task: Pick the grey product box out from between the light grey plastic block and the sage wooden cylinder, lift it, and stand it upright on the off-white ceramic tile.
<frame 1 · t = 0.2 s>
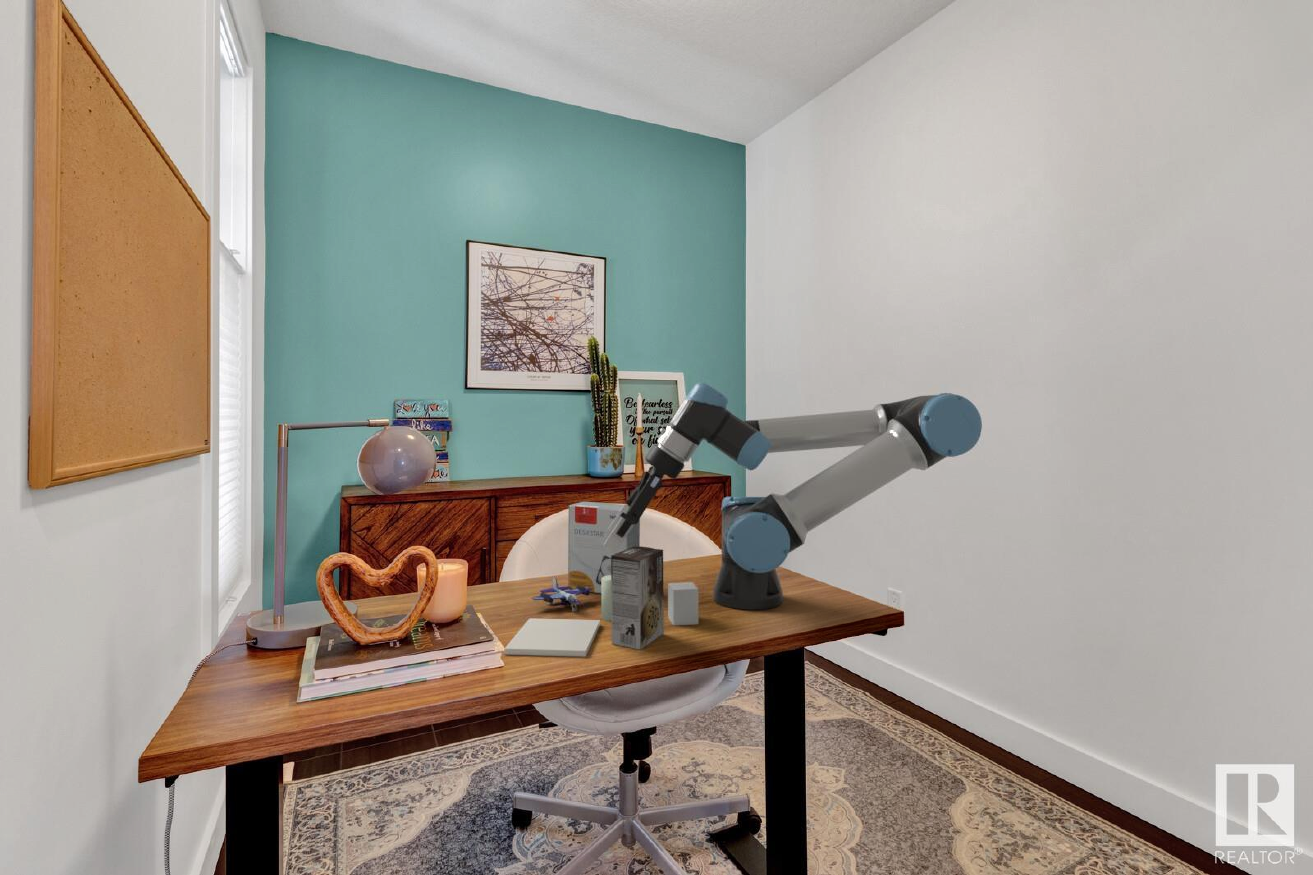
hand: (611, 540, 127), 16 cm above the table, tool tilted 35°, fingers open, 13 cm apart
sage cylinder: (613, 617, 128), on the table
hard drive box: (603, 590, 148), on the table
grey product box: (637, 640, 115), on the table
grey block: (682, 620, 126), on the table
tile: (555, 638, 115), on the table
toy airplane: (566, 608, 134), on the table
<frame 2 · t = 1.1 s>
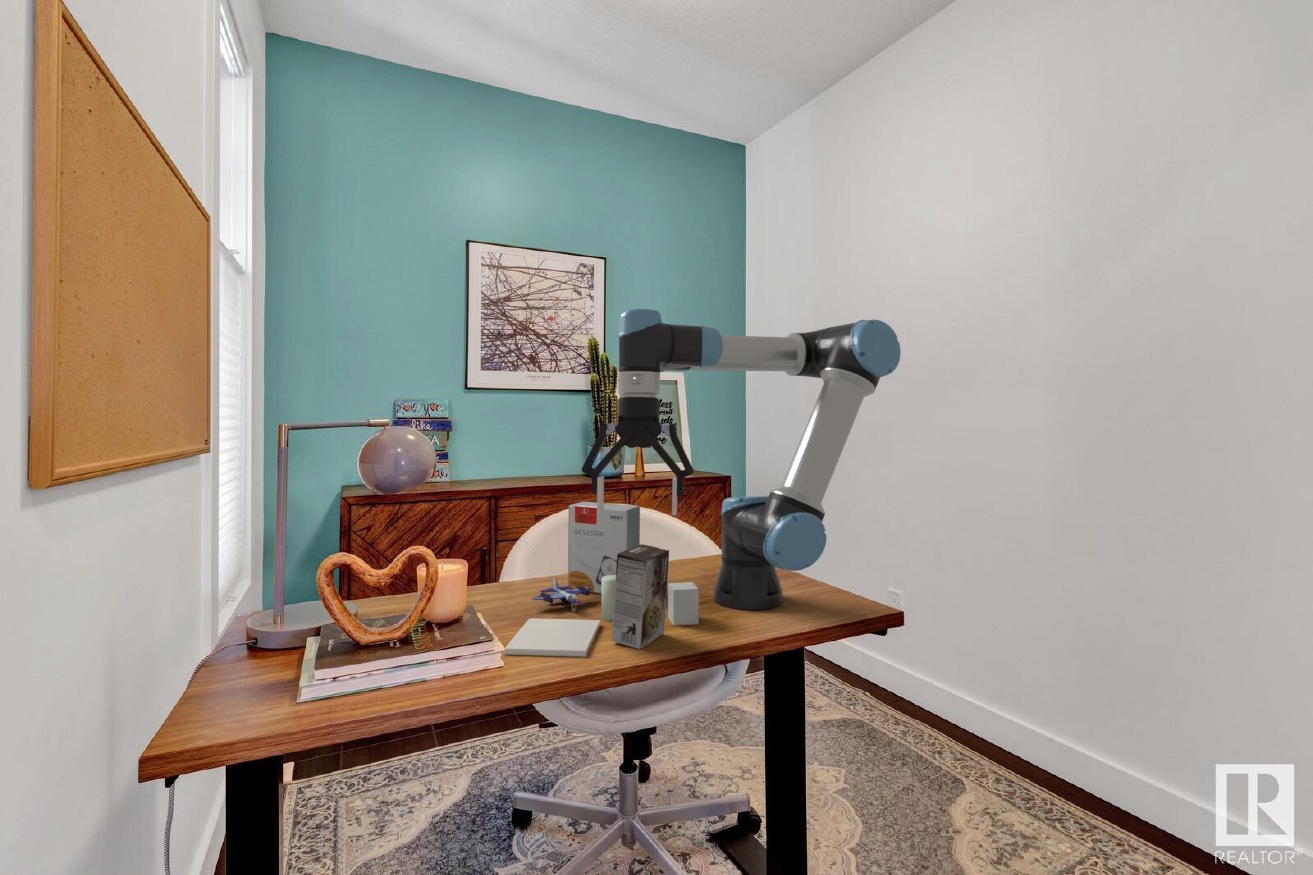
hand: (637, 513, 115), 23 cm above the table, tool pointing down, fingers open, 13 cm apart
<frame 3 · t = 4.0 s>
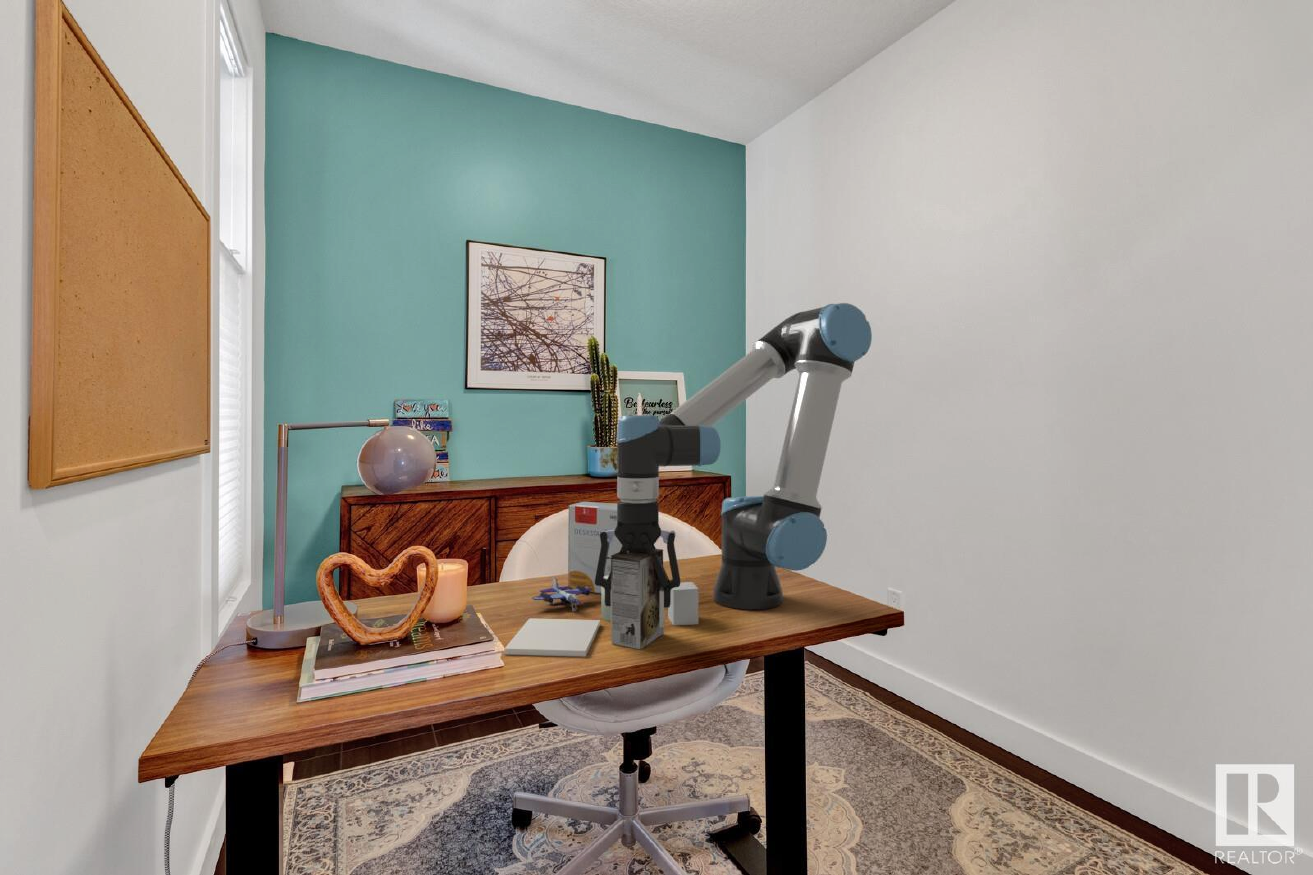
hand: (637, 623, 115), 3 cm above the table, tool pointing down, fingers closed on grey product box, 8 cm apart
grey product box: (637, 640, 115), on the table, touching gripper
everything else where it was.
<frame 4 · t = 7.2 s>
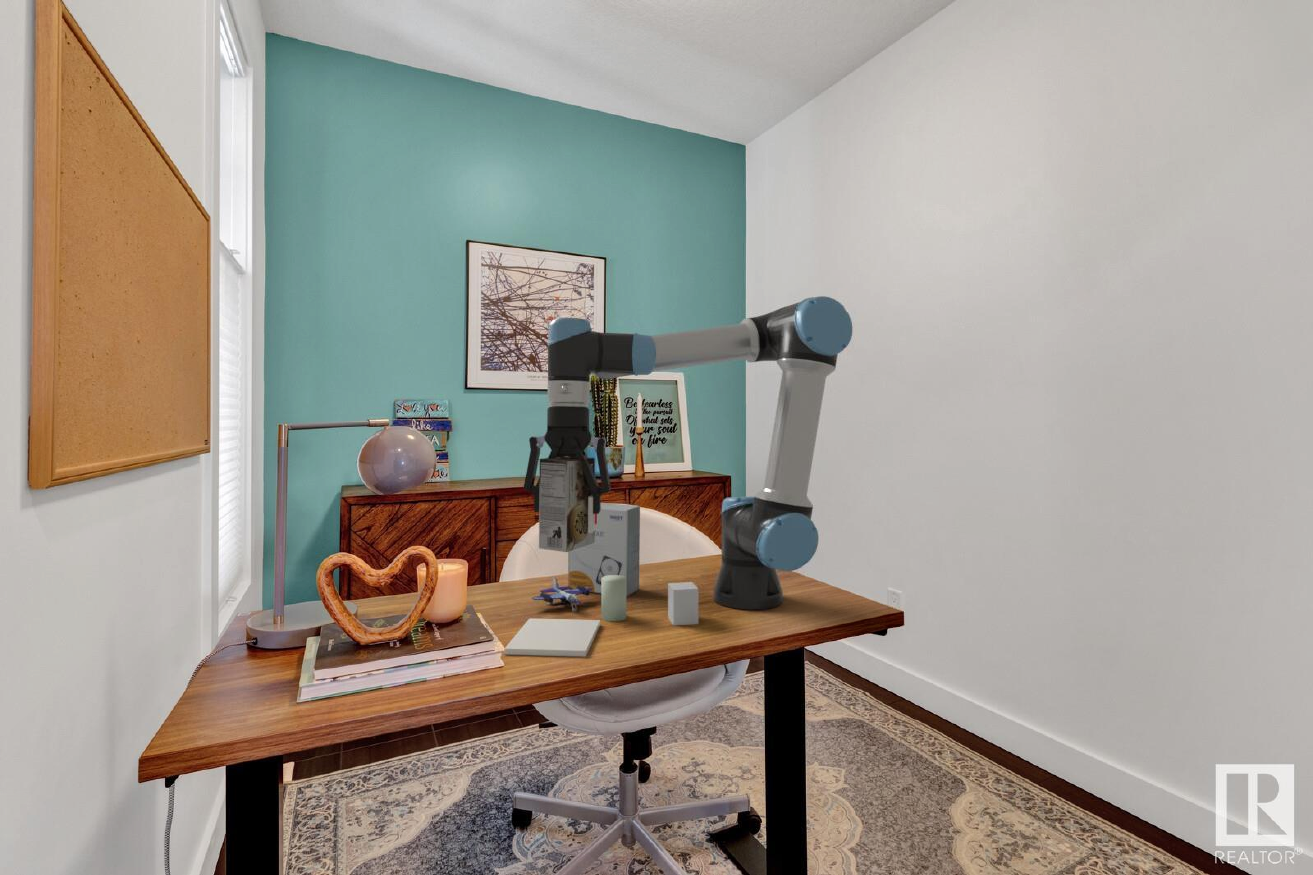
hand: (567, 530, 114), 20 cm above the table, tool pointing down, fingers closed on grey product box, 8 cm apart
grey product box: (566, 547, 114), point 17 cm above the table, touching gripper
everything else where it was.
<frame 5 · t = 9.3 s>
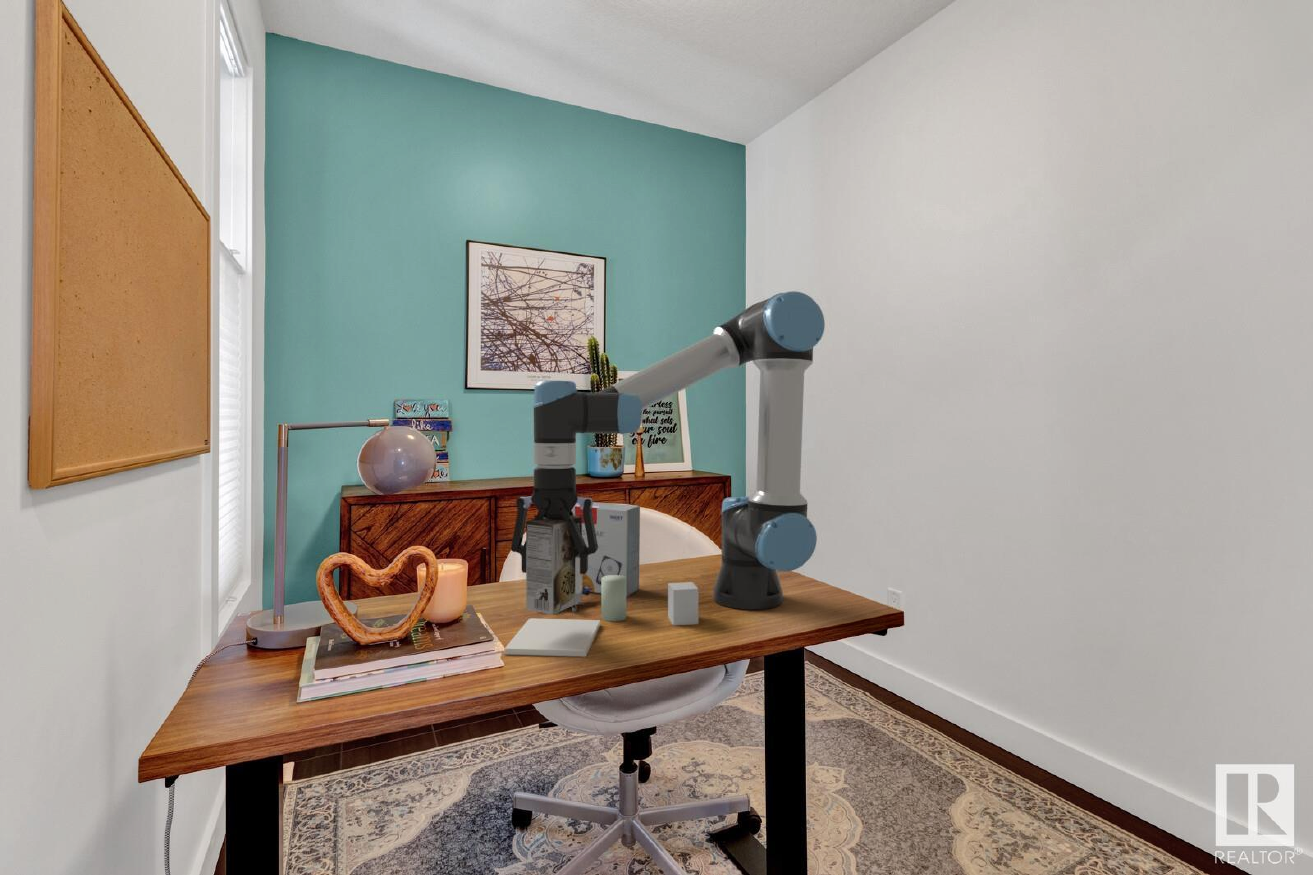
hand: (554, 590, 115), 9 cm above the table, tool pointing down, fingers closed on grey product box, 8 cm apart
grey product box: (554, 606, 115), point 6 cm above the table, touching gripper
everything else where it was.
when the fingers open (6 cm above the table, at t = 10.8 s): grey product box drops 2 cm, resting on tile.
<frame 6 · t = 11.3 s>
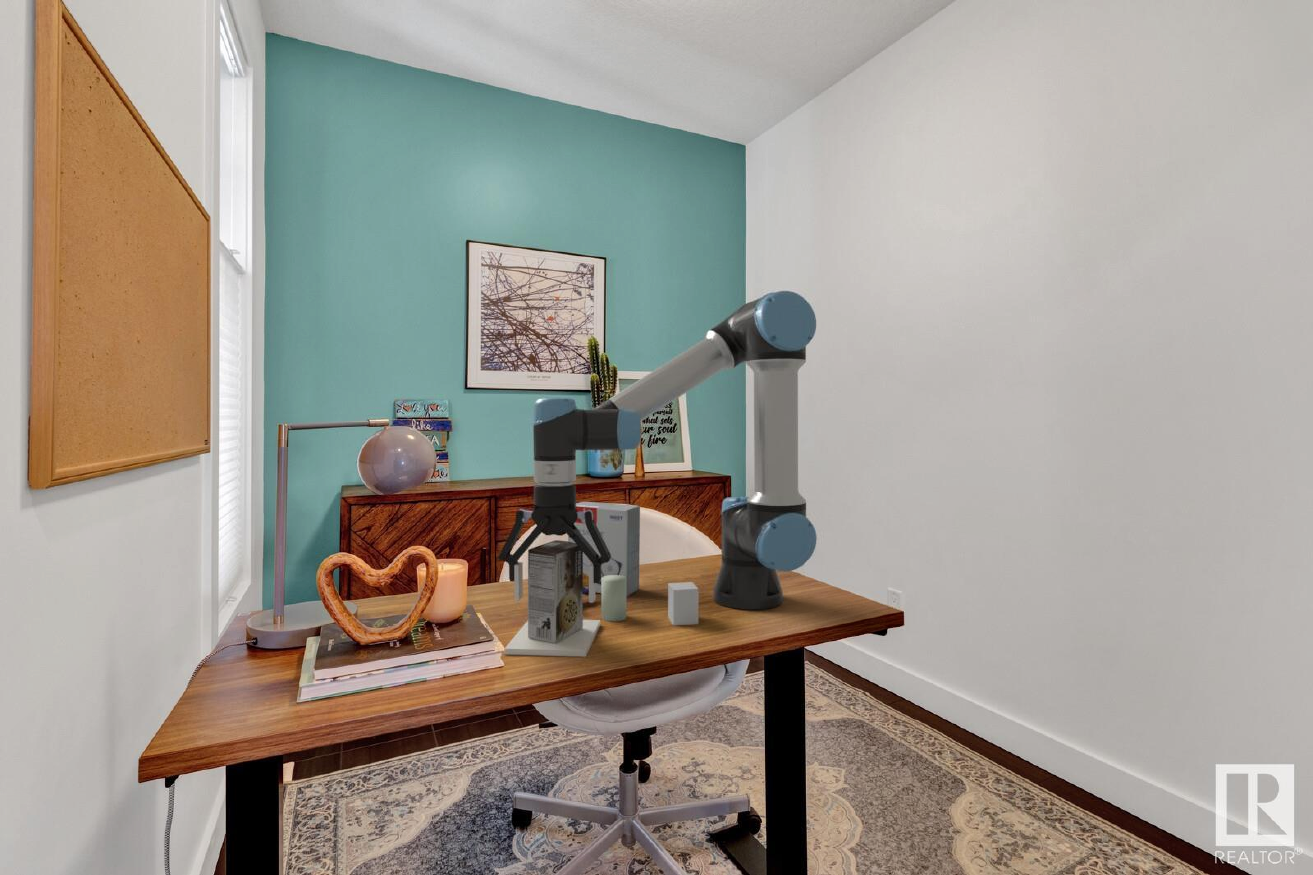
hand: (555, 599, 115), 7 cm above the table, tool pointing down, fingers open, 13 cm apart
grey product box: (555, 634, 115), point 1 cm above the table, touching tile
everything else where it was.
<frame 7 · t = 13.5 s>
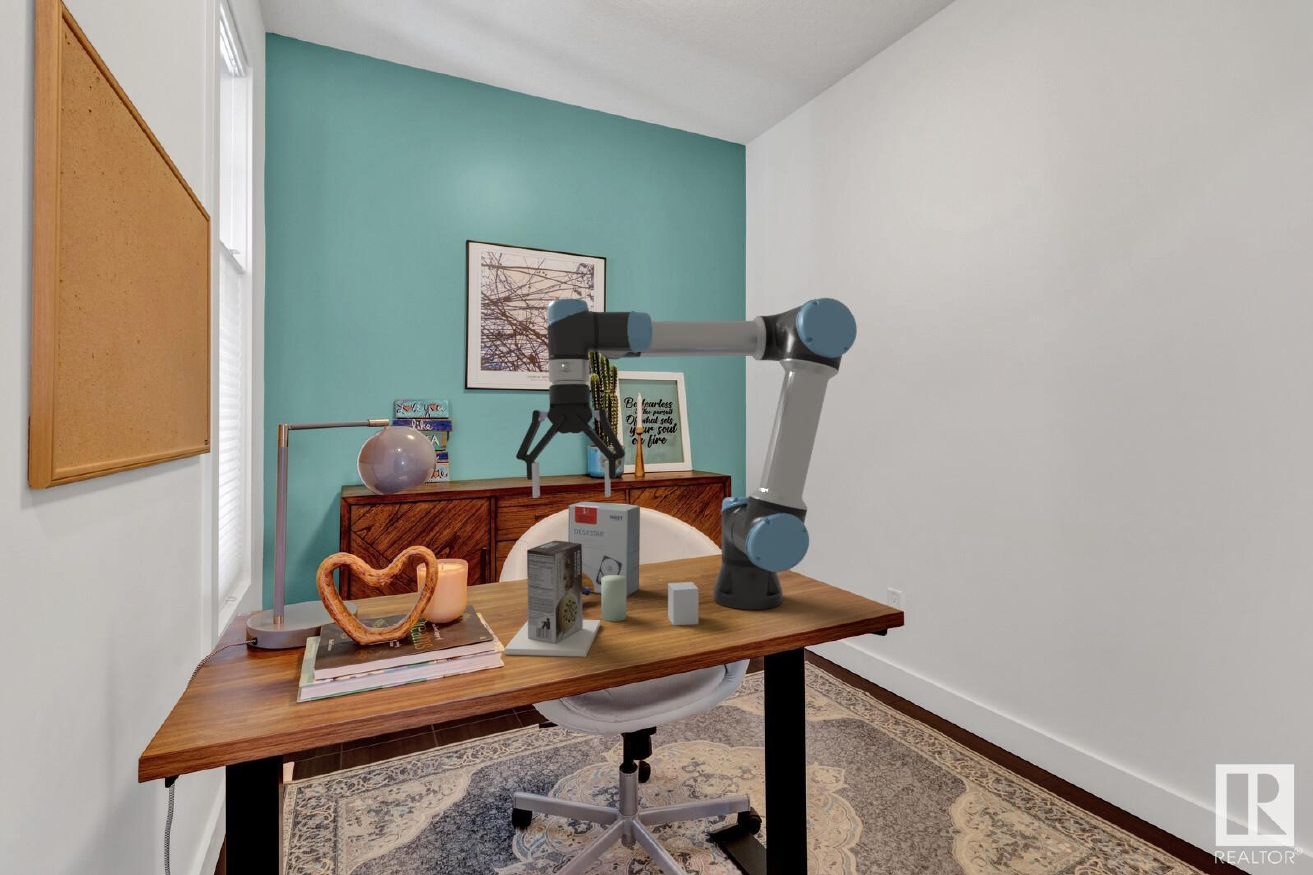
hand: (572, 496, 119), 25 cm above the table, tool pointing down, fingers open, 13 cm apart
nothing on the table moved.
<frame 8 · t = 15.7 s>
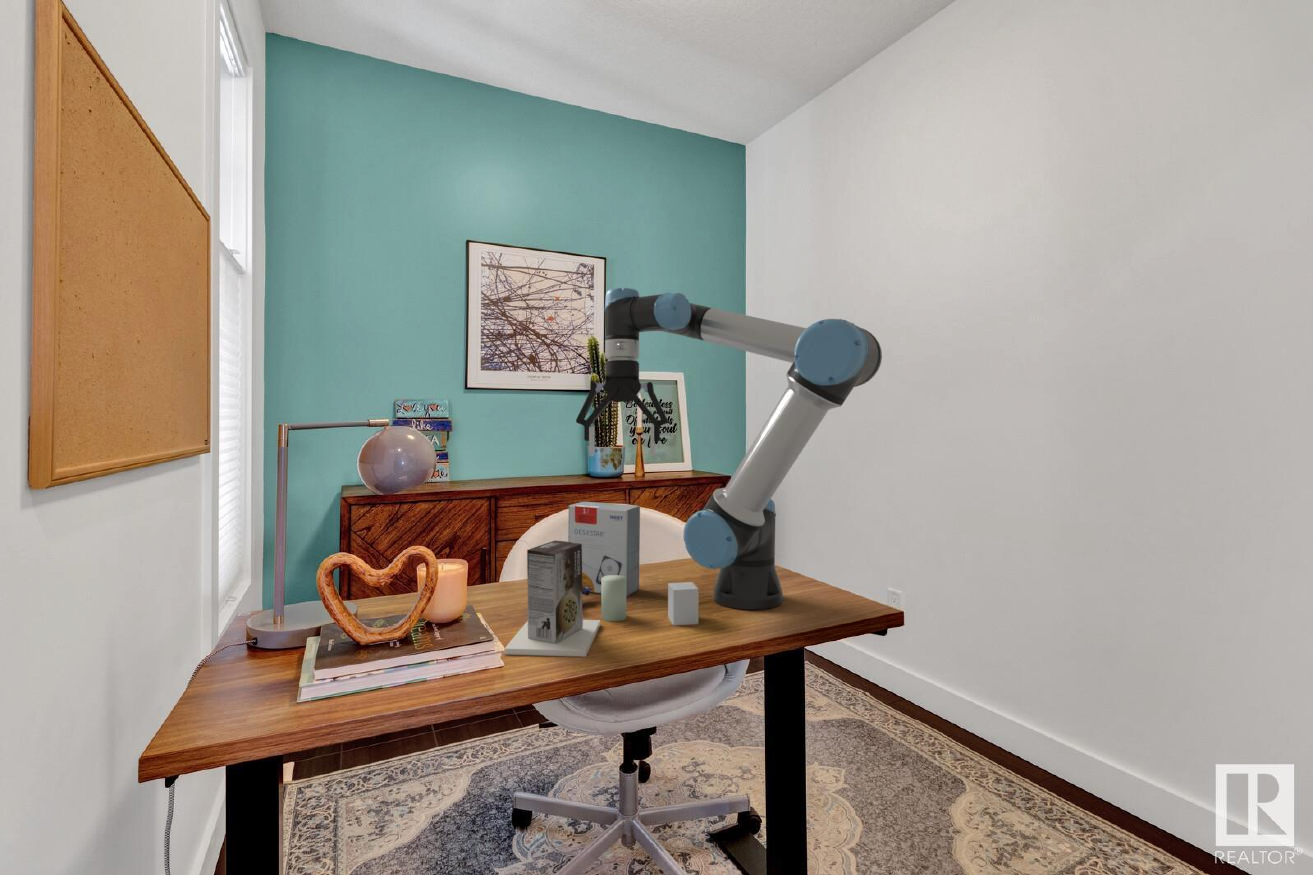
hand: (622, 456, 140), 32 cm above the table, tool pointing down, fingers open, 13 cm apart
nothing on the table moved.
at the end: grey product box inside the target area on the tile (0.0 cm from its centre), point 0.8 cm above the tile's base; grey product box tilted 0°; the gripper is holding nothing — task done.
